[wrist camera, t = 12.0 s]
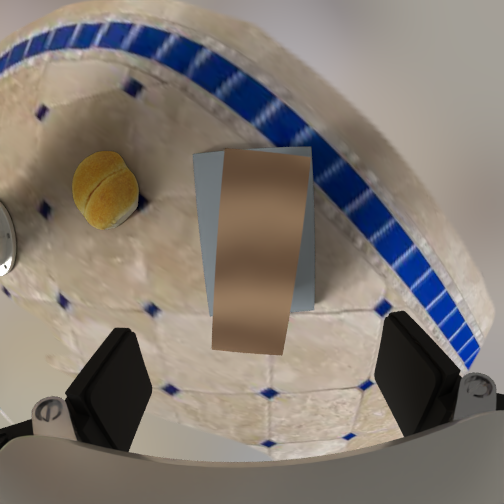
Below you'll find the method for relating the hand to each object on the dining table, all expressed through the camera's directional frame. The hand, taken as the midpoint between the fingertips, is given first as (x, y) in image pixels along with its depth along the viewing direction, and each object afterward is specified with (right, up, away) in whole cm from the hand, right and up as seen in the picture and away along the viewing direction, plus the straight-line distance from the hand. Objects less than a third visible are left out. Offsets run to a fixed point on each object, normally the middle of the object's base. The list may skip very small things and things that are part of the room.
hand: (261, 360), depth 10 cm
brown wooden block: (0, +4, +15) cm, 16 cm away
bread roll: (-17, +11, +20) cm, 29 cm away
